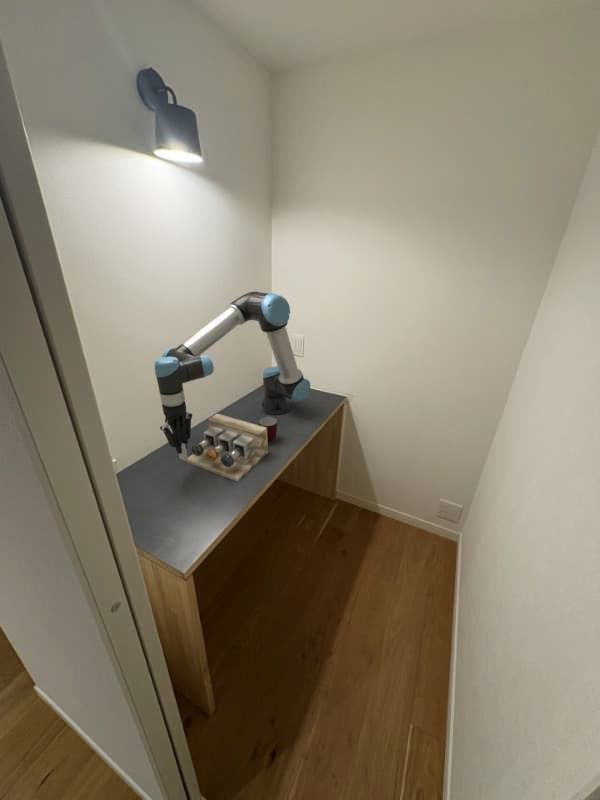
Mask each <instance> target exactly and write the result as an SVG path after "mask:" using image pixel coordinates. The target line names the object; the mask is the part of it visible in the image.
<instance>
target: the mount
mask: <svg viewBox="0 0 600 800" xmlns="http://www.w3.org/2000/svg"><path fill="white" fill-rule="evenodd" d="M207 421H208V422H207V423H208V428H207V429H206V430H205V431H204V432H203V437H204V438H203V440H204V439H206V438H207V437H209V436H210V437H212V438H213V439H214V444H212V445H211V446H210V447H208V448H207V449H206V450H204V451H203V454H201V455H200V456H196V455H194V454H193V453H192V454H191V455H190V456H187V457H188V459H186V460H185V462H186V463H188V464H191V465H194V466H196V467H199V468H201V469H204V470H206V471H209V472H212V473H214V474H217V475H219V476H221V477H225V478H227V479H230V480H232V481H235V482H239V481H240V480H242V478H243V477H245V475H246V474H248V473H249V471H251V470H252V469H253V468H254V467H255V465H257V464H259V462H260V461H261V460H262V459H263V458H264V457H265V456H266V455H267V454H269V446H268V445H269V443H268V439H267V428H266V427H263V426H259V424H255V423H251V422H249V421H245V420H241V419H237V418H233V417H230V416H227V415H224V414H220V413H216V414H214V415H213V416H211V417H209V418H208V419H207ZM222 441H225V442H227V443H228V445H229V448H228V449H227V450H225V451H224V452H223V453H222V454H220V455H219V456H218V459H217V460H215V461H214V462H212V461H210V460H209V459H208V458H207V457H206V452H207V451H208V450H209V449H213V448H215V447H216V446H217V445H218V444H220V443H221V442H222ZM237 446H241V447H242V448H243V450H244V453H243V454H242V455H241V456H240V457H239V458H237V459H236V460H235V461H234V464H233V465H232V466H231V467H226V466H224V465H223V463H222V461H221V458H222V457H223V456H224V455H225V454H229V453H230V452H231V451H232V450H234V449H235V448H236V447H237Z"/></svg>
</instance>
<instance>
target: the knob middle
mask: <svg viewBox="0 0 600 800" xmlns="http://www.w3.org/2000/svg"><path fill="white" fill-rule="evenodd" d="M228 448H229V445H228V443H227V442H225V441H222V442H221V443H220V444H218V445H217V446H216V447H215V448H213V449H209V450H208V451H207V452H206V457H207V458H208V459H209V460H210V461H212V462H214V461H215V460H217V459H218V456H219V455H220V454H222V453H223V452H224V451H225V450H227V449H228Z"/></svg>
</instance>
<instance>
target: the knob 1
mask: <svg viewBox="0 0 600 800" xmlns="http://www.w3.org/2000/svg"><path fill="white" fill-rule="evenodd" d="M212 444H214V439H213V438H212V437H210V436H209V437H207V438H206V439H204V438H203V440H201V441H200V442H199V443H194V444H193V445H192V446H191V448H190V449H191V452H192V454H194V455H196V456H200V455H201V454H203V451H204V450H206V449H207V448H208V447H210V446H211V445H212Z"/></svg>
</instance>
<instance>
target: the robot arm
mask: <svg viewBox="0 0 600 800" xmlns="http://www.w3.org/2000/svg"><path fill="white" fill-rule="evenodd" d="M290 314H291V308H290V304H289V302H288V300H287V299H286V298H285V297H284V296H282V295H280V294H276V293H273V292H272V293H267V292H260V291H250V292H247V293H244V294H242V295H241V296H239V297H237V298H236V299H235V300H232V302H231V303H229V304H227V306H226V310H224V311H223V312H222V313H220V314H219V315H218V316H216V317H214V318H213V319H212V320H210V322H208V323H207V324H206V325H204V326H203V327H201V329H200V330H198V331H196V333H194V334H192V335H191V336H190V337H189V338H188V339H186V340H185V341H183V342H182V343H181V344H179V345H178V346H177V347H176V348H175V347H171V348H170V347H168V348H167V349H165V350H164V351H163V352H162V355H161V357H160V358H157V359H156V360H155V361H154V373H155V377H156V381H157V386H158V391H159V396H160V397H159V398H160V402H161V407H162V412H163V415H164V417H165V418H164V419H165V420H164V422H165V423H164V424H163V425H161V426H160V427H159V430H161V431H162V432H163V434H164V435H165V438H166V440H167V442H168V444H169V446H170V447H173V448H174V449H176V453H177V454H178V458H179V460H183V461H186V459H188V457H189V456H188V451H187V450H188V444H189V440H190V439H191V431H192V430H191V429H192V428H191V427H192V419H193V413H191V412H187V405H186V398H185V392H184V386H183V384H186V383H188V382H192V381H195V380H199V379H202V378H203V379H205V378H207V377H210V376H211V375H212V374H213V373H214V363H213V361H212V359H211V357H210V356H208V355H202V354H205V352H206V351H208V350H209V349H210V348H211V347H212V346H213V345H215V344H216V343H217V342H219V341H220V340H221V339H223V338H224V337H225V336H226V335H227V334H229V333H230V332H231V331H232V330H234V329H235V328H236V327H238V325H241V326H242V325H244V324H245V323H247V322H248V321H255V322H258V324H259V326H260V327H259V328H260V329H261V331H262V332H263V333H266V335H267V338H268V339H267V340H268V341H269V345H270V347H271V351H272V353H273V356H274V358H275V359H274V360H275V362H276V365H277V366H270V367H267V368H265V369H264V370H263V372H262V383H263V399H262V401H261V406H260V407H261V411H262V413H265V415H271V416H278V415H283V414H286V413H288V412H289V411H290V402H289V400H291V401H292V402H293V401H294V402H299V403H300V402H302V401H304V400H306V398H307V397H308V395H309V393H310V390H311V382H310V381H309V379H307V378H305V377H304V375H303V371H302V370H301V369H300V368H298V366H297V362H296V358H295V356H294V352H293V348H292V345H291V341H290V338H289V335H288V331H287V327H288V326H287V325H288V323H289V320H290V318H291V317H290ZM288 399H289V400H288Z"/></svg>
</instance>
